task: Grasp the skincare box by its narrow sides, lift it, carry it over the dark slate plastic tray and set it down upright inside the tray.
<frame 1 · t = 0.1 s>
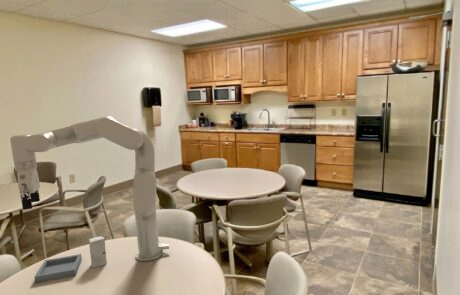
hand: (31, 205, 125), 31 cm above the table, tool pointing down, fingers open, 9 cm apart
skincare box: (99, 264, 136), on the table
tray: (60, 271, 131), on the table
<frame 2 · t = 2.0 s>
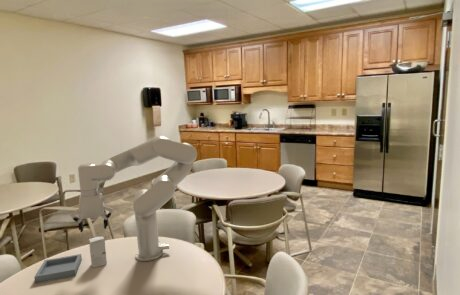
hand: (93, 229, 133), 17 cm above the table, tool pointing down, fingers open, 9 cm apart
nothing on the table moved.
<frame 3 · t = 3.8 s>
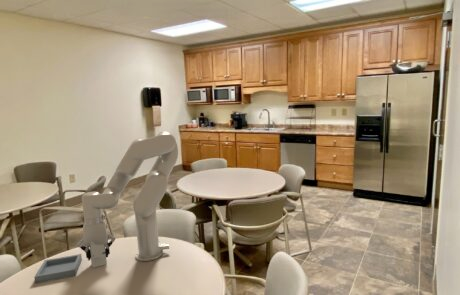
hand: (98, 257, 135), 3 cm above the table, tool pointing down, fingers closed on skincare box, 6 cm apart
skincare box: (99, 264, 136), on the table, touching gripper
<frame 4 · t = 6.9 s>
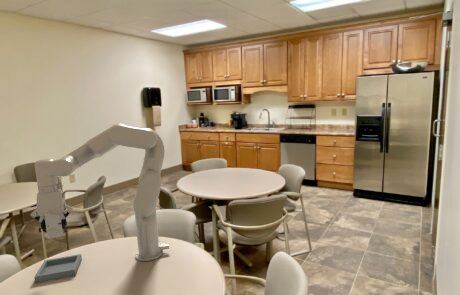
hand: (54, 228, 128), 20 cm above the table, tool pointing down, fingers closed on skincare box, 6 cm apart
skincare box: (55, 235, 129), point 16 cm above the table, touching gripper
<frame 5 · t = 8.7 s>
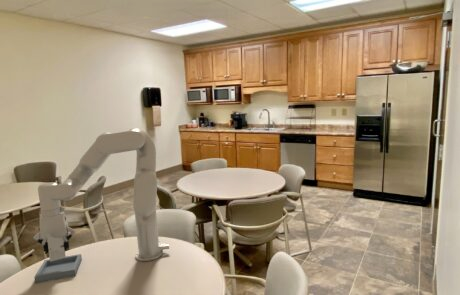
hand: (56, 250, 130), 10 cm above the table, tool pointing down, fingers closed on skincare box, 6 cm apart
skincare box: (58, 258, 130), point 6 cm above the table, touching gripper
when the fingers open (6 cm above the table, at t = 10.0 s): skincare box drops 1 cm, resting on tray.
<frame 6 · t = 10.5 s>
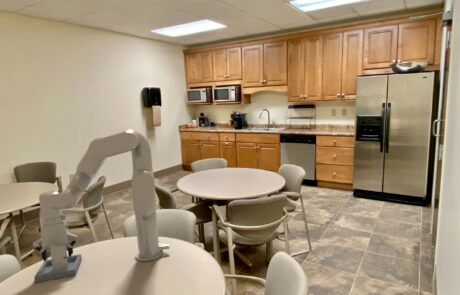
hand: (58, 257, 130), 6 cm above the table, tool pointing down, fingers open, 9 cm apart
skincare box: (61, 269, 131), point 1 cm above the table, touching tray
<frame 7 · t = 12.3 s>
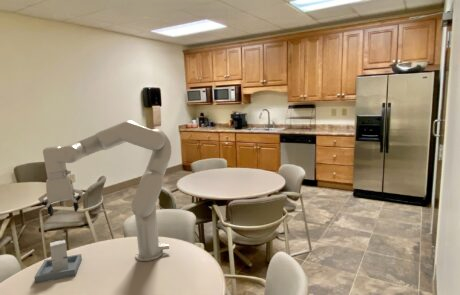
hand: (64, 212, 132), 25 cm above the table, tool pointing down, fingers open, 9 cm apart
nothing on the table moved.
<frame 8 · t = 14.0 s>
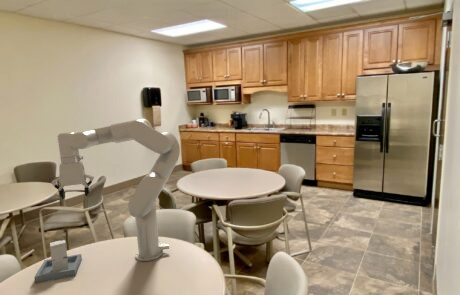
hand: (75, 196, 137), 30 cm above the table, tool pointing down, fingers open, 9 cm apart
nothing on the table moved.
at the end: skincare box inside the target area on the tray (0.5 cm from its centre), point 0.8 cm above the tray's base; skincare box tilted 0°; the gripper is holding nothing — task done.
